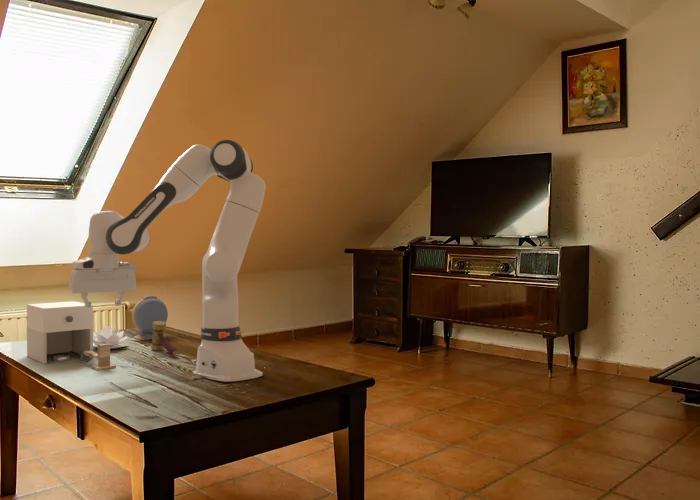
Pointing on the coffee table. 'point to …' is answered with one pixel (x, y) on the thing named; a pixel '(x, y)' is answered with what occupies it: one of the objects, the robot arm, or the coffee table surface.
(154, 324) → the gavel
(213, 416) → the coffee table surface
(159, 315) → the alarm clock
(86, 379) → the coffee table surface
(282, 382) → the coffee table surface
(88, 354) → the hook tool
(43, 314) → the cabinet
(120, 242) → the robot arm
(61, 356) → the disc
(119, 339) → the lotus flower
